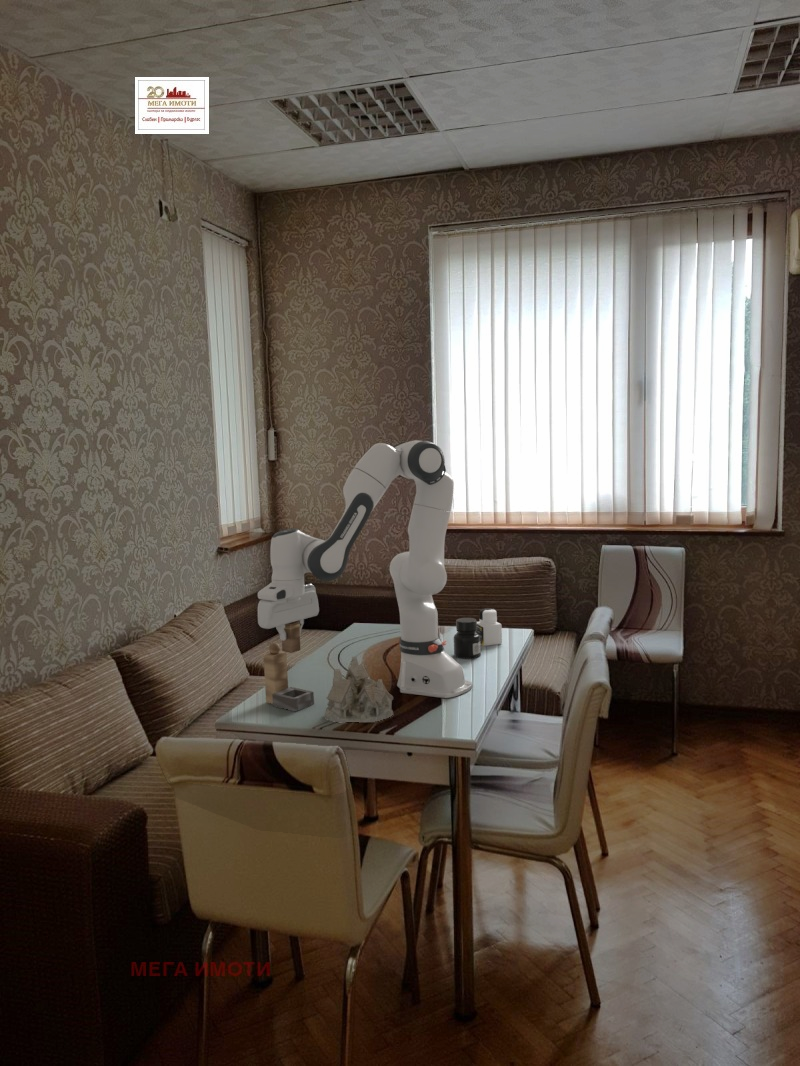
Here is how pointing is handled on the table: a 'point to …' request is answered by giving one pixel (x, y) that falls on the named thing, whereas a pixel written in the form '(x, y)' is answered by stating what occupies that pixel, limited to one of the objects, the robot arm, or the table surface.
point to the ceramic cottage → (357, 697)
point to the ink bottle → (466, 639)
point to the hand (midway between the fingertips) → (290, 637)
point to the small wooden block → (292, 637)
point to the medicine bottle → (489, 627)
